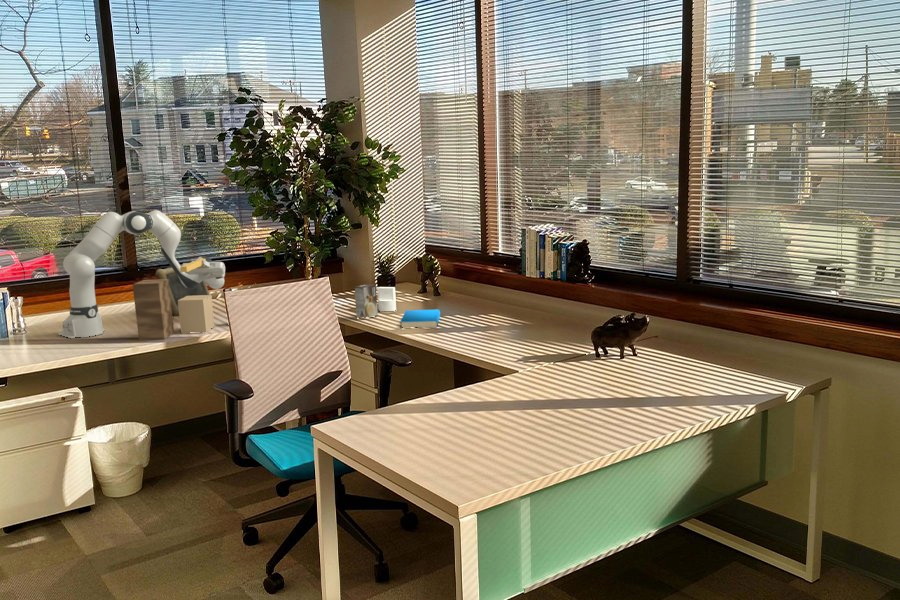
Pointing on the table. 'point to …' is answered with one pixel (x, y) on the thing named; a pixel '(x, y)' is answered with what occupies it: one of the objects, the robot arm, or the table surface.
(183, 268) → the tan wooden beam
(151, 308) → the walnut post
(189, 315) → the cardboard box
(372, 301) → the coffee box
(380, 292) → the white recessed box
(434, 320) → the book
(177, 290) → the grey open box
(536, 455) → the table surface
